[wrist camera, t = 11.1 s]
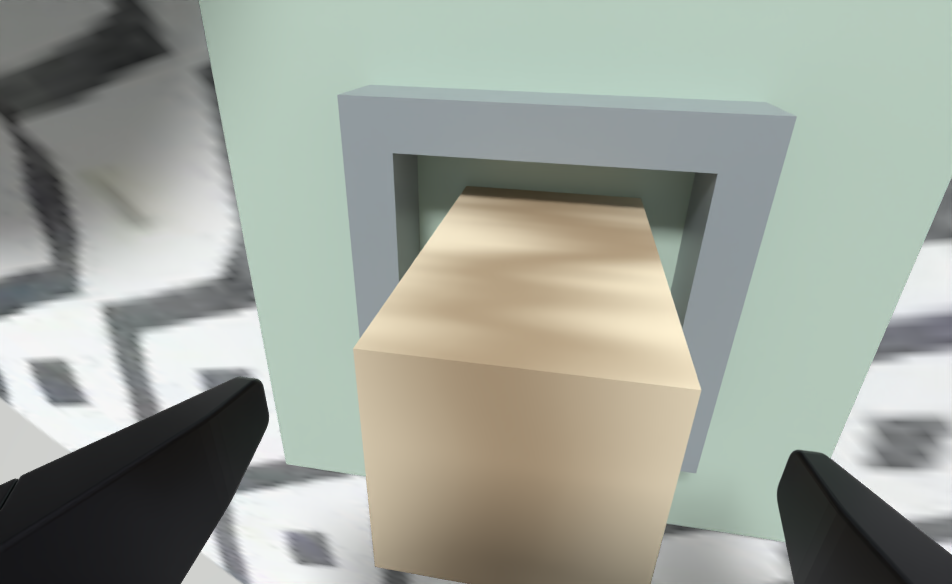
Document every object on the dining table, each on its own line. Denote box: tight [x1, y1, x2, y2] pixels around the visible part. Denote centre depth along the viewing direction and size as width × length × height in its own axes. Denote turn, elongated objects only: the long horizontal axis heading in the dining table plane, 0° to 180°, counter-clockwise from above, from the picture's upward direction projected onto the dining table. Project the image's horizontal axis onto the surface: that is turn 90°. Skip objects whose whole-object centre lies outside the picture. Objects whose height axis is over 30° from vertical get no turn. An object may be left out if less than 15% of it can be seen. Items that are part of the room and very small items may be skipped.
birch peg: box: [353, 186, 701, 584], centre depth 11 cm, size 4×4×8 cm
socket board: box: [199, 0, 952, 542], centre depth 15 cm, size 18×18×3 cm
